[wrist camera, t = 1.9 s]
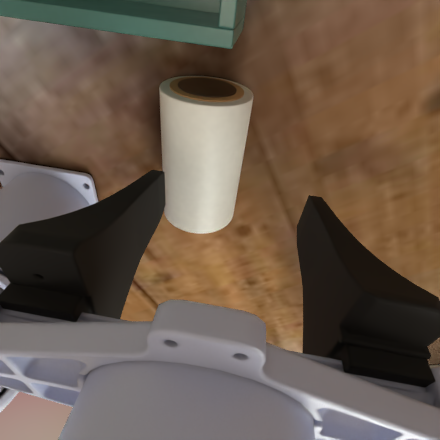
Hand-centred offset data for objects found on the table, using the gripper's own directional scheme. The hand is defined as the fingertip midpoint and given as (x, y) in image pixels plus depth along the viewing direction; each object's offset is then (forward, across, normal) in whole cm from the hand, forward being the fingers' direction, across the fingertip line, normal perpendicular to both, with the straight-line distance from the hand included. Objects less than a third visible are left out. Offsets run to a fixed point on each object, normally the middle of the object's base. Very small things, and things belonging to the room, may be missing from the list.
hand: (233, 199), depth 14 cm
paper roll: (+5, 0, 0) cm, 5 cm away
